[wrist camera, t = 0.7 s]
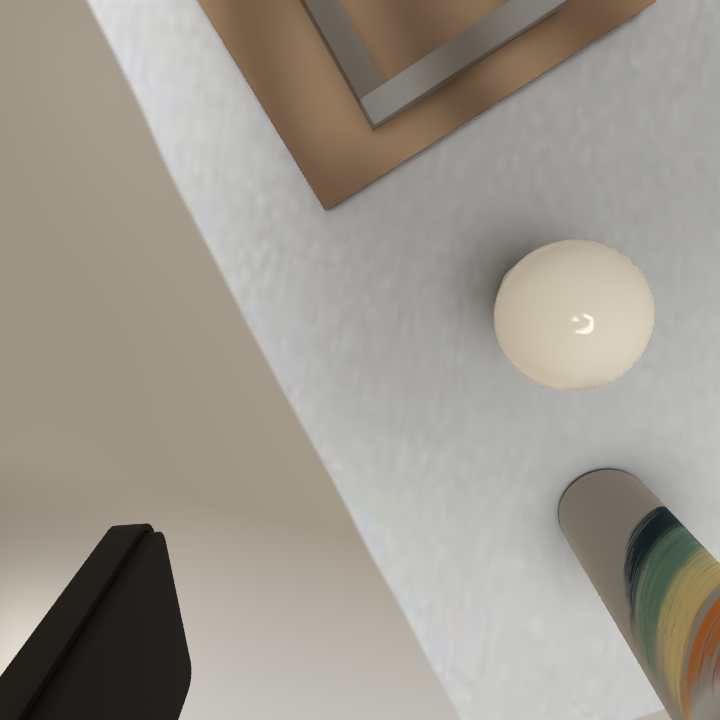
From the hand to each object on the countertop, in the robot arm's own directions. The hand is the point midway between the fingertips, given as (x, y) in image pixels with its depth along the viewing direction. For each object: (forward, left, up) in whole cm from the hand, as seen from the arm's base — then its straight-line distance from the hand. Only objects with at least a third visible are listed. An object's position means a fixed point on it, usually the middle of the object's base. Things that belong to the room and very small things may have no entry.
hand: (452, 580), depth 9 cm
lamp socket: (-9, -13, -24) cm, 29 cm away
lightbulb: (-7, +3, -24) cm, 25 cm away
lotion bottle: (-5, +18, -24) cm, 31 cm away
